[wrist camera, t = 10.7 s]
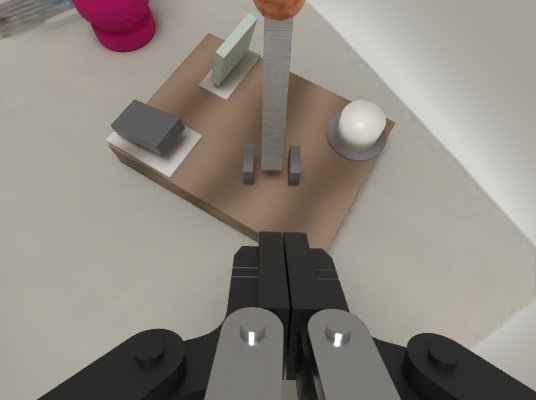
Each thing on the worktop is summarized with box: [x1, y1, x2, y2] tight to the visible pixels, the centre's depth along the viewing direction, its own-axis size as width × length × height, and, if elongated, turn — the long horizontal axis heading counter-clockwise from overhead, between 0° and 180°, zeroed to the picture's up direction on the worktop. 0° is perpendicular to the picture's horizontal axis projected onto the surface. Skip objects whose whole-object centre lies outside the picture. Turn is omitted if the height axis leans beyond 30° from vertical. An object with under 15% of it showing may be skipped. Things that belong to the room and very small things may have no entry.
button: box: [336, 100, 386, 152], centre depth 29 cm, size 4×4×2 cm
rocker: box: [111, 100, 185, 156], centre depth 28 cm, size 5×3×1 cm, turn 60°
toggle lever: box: [253, 0, 305, 170], centre depth 23 cm, size 3×3×14 cm
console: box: [106, 33, 395, 252], centre depth 30 cm, size 20×15×5 cm
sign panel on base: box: [211, 12, 257, 86], centre depth 30 cm, size 1×5×4 cm, turn 148°
